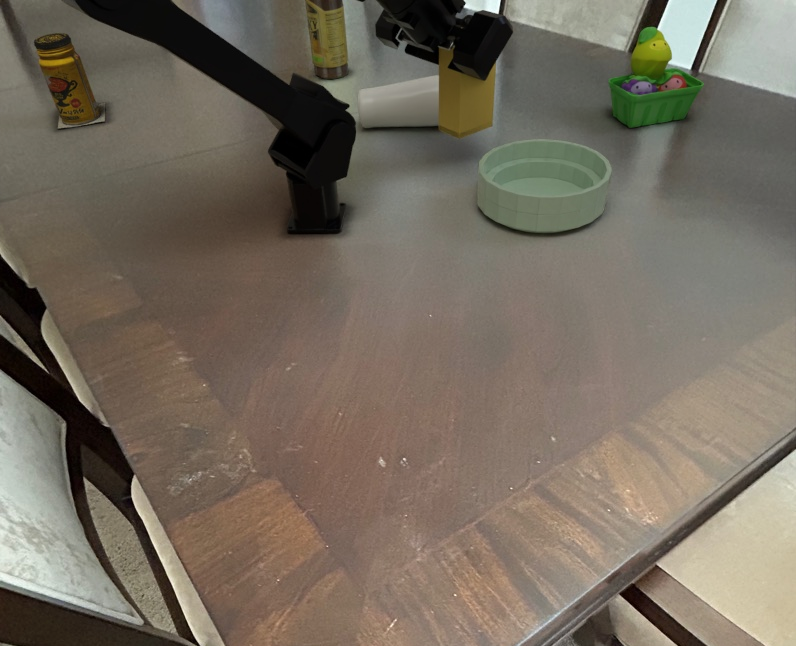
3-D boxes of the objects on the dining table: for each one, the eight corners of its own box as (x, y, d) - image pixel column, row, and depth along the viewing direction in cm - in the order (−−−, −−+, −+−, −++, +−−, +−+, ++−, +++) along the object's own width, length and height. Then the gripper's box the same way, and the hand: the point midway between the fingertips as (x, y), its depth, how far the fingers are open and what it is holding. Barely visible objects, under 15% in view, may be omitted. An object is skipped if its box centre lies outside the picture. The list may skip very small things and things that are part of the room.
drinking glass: (360, 137, 98) (462, 127, 97) (354, 86, 95) (460, 74, 93) (364, 129, 104) (461, 119, 102) (359, 81, 100) (459, 70, 99)
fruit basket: (626, 133, 95) (642, 46, 87) (596, 111, 101) (609, 28, 94) (697, 121, 97) (720, 35, 89) (664, 100, 103) (682, 18, 95)
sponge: (458, 139, 86) (461, 35, 78) (438, 130, 88) (438, 28, 80) (492, 126, 88) (498, 24, 80) (471, 118, 91) (475, 18, 82)
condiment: (57, 130, 106) (24, 46, 97) (60, 111, 112) (29, 31, 103) (105, 122, 107) (76, 40, 99) (105, 104, 113) (78, 25, 105)
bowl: (613, 237, 76) (622, 196, 72) (478, 238, 77) (480, 197, 73) (594, 176, 86) (600, 137, 83) (475, 178, 87) (477, 140, 84)
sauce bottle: (312, 70, 120) (295, -64, 106) (347, 66, 121) (334, -67, 107) (316, 82, 116) (299, -56, 102) (351, 78, 117) (339, -60, 103)
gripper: (507, -75, 65) (568, 27, 77) (389, -94, 76) (459, -1, 88) (445, 33, 67) (514, 115, 80) (339, 0, 78) (414, 77, 90)
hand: (474, 73), depth 84 cm, fingers closed on sponge, 4 cm apart
